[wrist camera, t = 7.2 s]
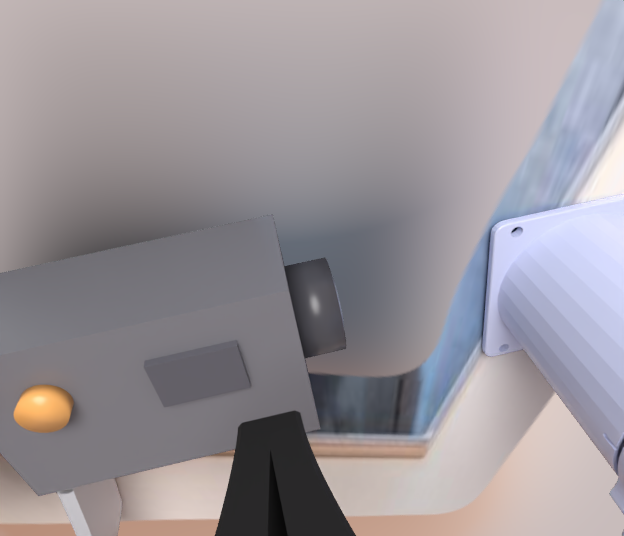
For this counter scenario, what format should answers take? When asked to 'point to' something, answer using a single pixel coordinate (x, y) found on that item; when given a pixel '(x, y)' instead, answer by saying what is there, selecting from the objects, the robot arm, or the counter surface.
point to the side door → (93, 508)
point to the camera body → (157, 352)
